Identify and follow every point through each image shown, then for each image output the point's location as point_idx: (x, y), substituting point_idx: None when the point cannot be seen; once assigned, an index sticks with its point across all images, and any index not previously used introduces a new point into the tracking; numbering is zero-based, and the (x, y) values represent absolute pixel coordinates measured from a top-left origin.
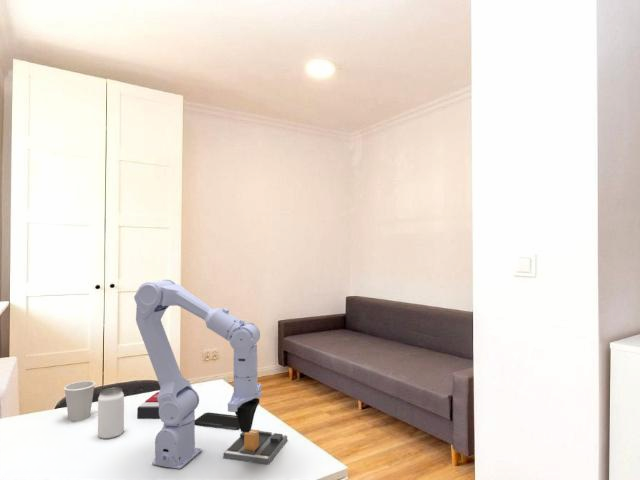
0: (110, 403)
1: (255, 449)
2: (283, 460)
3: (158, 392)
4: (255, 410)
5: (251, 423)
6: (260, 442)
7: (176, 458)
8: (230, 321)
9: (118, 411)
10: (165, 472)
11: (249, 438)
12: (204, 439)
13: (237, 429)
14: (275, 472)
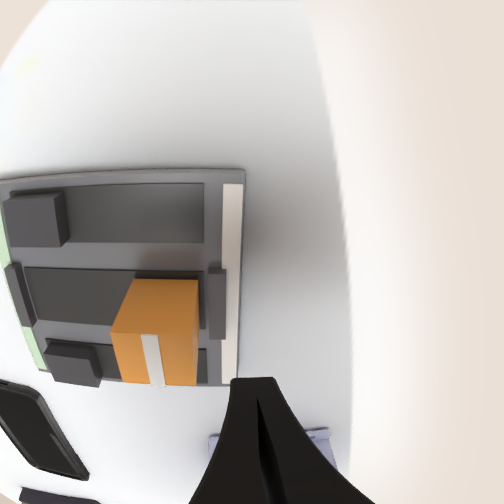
0: None
1: (177, 281)
2: (183, 107)
3: None
4: (198, 500)
5: (251, 415)
6: (92, 285)
7: (333, 457)
8: None
9: None
10: (341, 440)
11: (195, 345)
12: (141, 447)
13: (36, 392)
14: (310, 111)
